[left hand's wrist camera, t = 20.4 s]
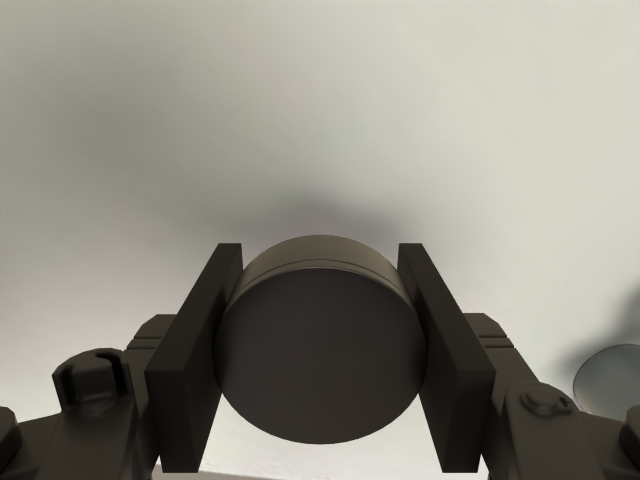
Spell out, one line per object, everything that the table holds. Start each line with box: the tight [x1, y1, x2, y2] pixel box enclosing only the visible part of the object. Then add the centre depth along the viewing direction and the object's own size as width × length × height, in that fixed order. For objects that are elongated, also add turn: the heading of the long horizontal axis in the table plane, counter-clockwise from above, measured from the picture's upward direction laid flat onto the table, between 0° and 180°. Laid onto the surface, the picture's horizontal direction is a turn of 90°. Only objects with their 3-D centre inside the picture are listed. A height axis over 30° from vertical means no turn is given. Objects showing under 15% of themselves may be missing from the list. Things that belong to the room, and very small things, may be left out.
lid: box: [212, 235, 428, 444], centre depth 11 cm, size 5×5×2 cm
